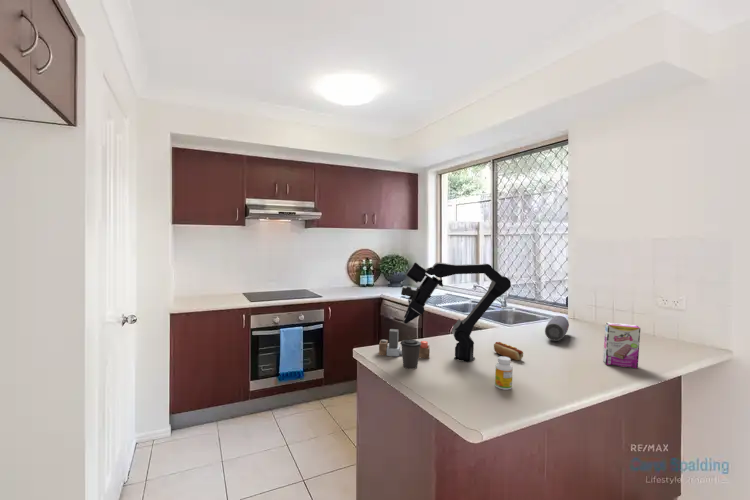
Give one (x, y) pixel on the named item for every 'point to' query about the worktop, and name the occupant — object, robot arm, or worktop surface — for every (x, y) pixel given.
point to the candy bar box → (621, 345)
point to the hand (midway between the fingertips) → (405, 320)
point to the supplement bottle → (503, 373)
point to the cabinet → (424, 352)
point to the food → (508, 351)
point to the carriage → (393, 343)
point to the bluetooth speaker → (557, 328)
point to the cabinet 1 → (383, 347)
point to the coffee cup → (410, 353)
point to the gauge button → (424, 344)
